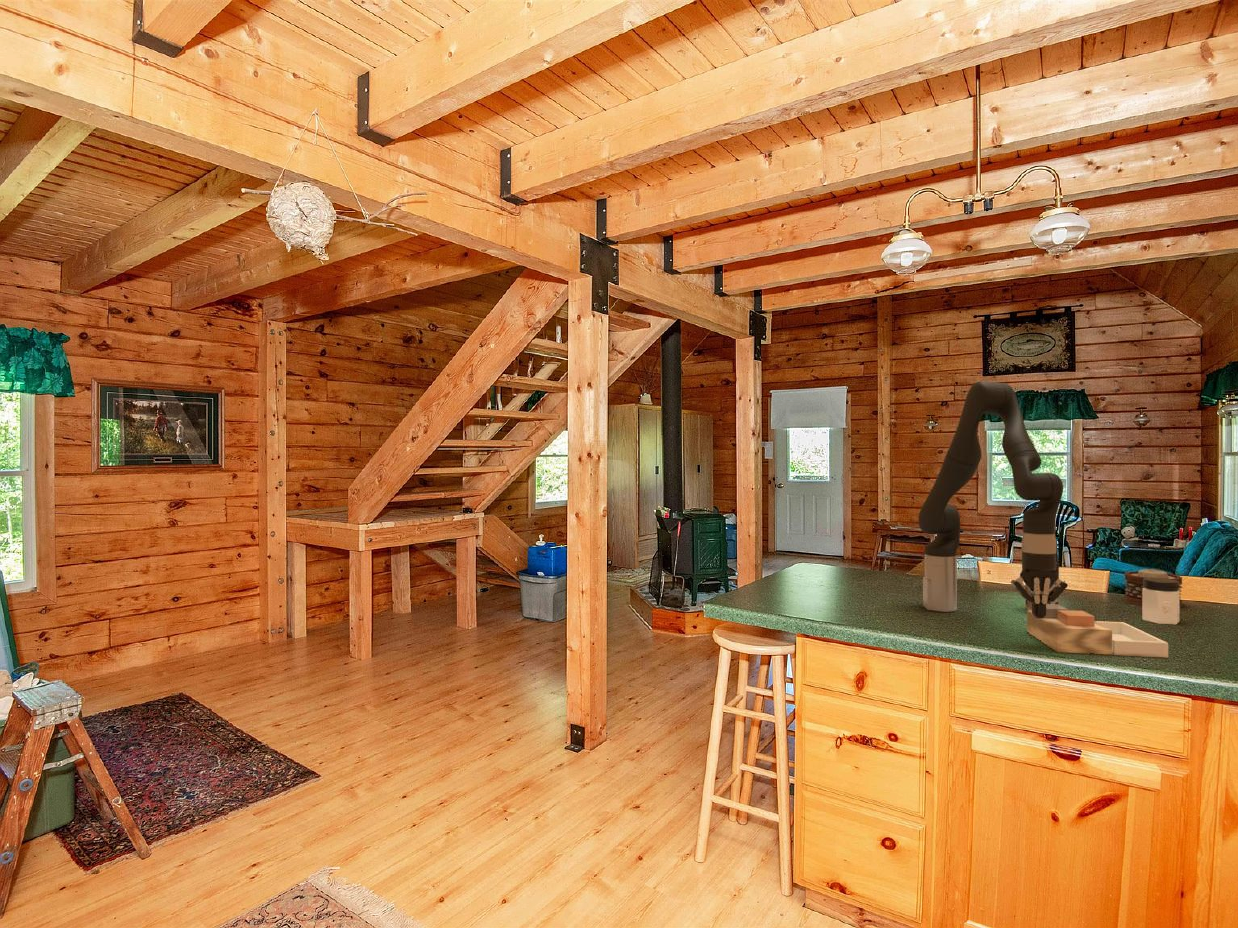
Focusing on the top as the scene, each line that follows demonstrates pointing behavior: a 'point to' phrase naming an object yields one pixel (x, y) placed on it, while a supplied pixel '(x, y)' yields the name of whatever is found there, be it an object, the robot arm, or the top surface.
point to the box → (1134, 641)
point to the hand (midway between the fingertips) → (1039, 617)
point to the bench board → (1070, 635)
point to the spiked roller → (1136, 584)
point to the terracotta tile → (1075, 618)
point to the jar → (1160, 600)
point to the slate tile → (1053, 610)
